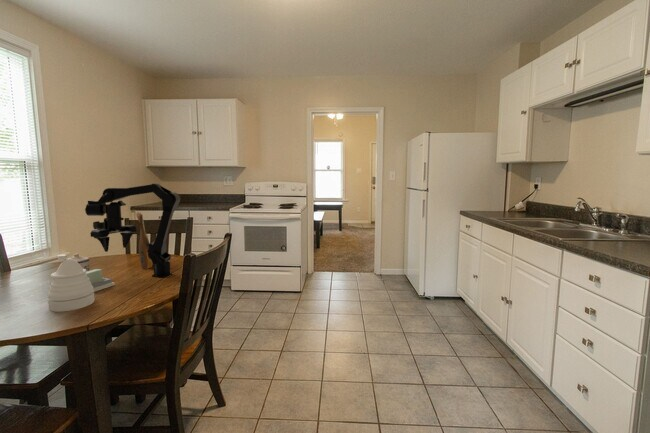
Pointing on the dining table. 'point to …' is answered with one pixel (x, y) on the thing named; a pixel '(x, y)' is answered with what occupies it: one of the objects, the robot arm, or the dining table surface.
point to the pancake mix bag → (143, 245)
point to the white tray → (102, 284)
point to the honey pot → (69, 287)
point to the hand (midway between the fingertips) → (115, 249)
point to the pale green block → (94, 275)
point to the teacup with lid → (81, 261)
